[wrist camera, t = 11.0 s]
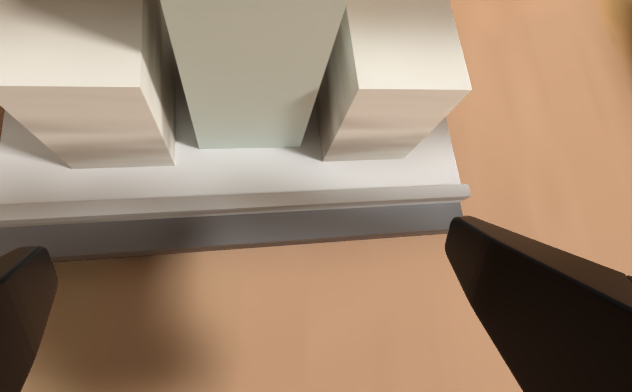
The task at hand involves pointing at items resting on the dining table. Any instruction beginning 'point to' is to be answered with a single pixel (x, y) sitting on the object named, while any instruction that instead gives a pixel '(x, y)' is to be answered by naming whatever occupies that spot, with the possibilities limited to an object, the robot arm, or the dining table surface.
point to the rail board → (219, 164)
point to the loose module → (251, 66)
